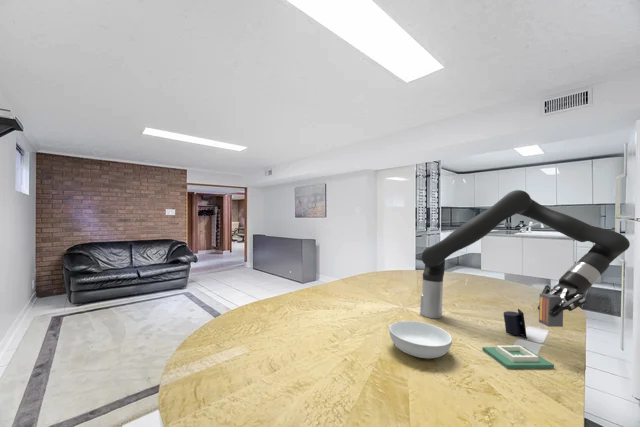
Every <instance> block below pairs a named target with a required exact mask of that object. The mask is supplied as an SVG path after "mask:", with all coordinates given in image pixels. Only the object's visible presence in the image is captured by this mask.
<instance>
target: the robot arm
mask: <svg viewBox="0 0 640 427" xmlns="http://www.w3.org/2000/svg"><path fill="white" fill-rule="evenodd" d="M515 215H520V216H523V217H526V218H530V219H531V220H534V221H537V222H538V223H541V224H543V225H545V226H547V227H549V228H551V229H552V230H554V231H556V232H558V233H561V234H563V235H564V236H566V237H568V238H570V239H572V240H573V241H574V240H575V241H577V242H580V243H585V242H589V243H593V246H592V247H591V248H590V249H589V250H588V252H587V253H585V254H584V255H582V256H581V258H580V259H579V260H578V261H577V262H575V264H573V265H571V267H569V268H568V269H567V271H566V272H565V273H563V275H562V276H560V278H559V279H558V283H557V284H556V285H554V286H549V285H545V286H544V287H543V290H542V292H541V294H555V295H558V296H560V297H561V298H560V301H559V302H558V305H555V306H554V307H553V309H552V310H551V311H550V312H549V313H550V315H551V316H553V317H556V316H558V315H559V314H560V313H561V312H562V311H563V312H564V311H566V310H568V311H570V312H572V311H573V310H575V309H577V308H579V307H581V306H583V305H584V304H585V303H587V300H586V298H585V297H584V296H583V295H585V294H586V293H587V291H589V290H590V289H591V288H592V287H593V285H594V284H595V283H596V282H598V280H599V278H600V277H601V276H602V275H603V274H604V273H605V271H607V269H608V268H609V267H610V264H611V263H613V261H615V260H616V259H617V258H618V257H619V256H620V255H622V254H623V253H625V252H626V251H627V250H628V249H629V248H630V245H631V243H630V240H629V239H628V238H627V237H626V236H625V235H623V234H622V233H620V232H617V231H614V230H611V229H607V228H605V227H599V226H594V225H592V224H589V223H587V222H585V221H582V220H580V219H578V218H576V217H573V216H570V215H568V214H565V213H562V212H559V211H557V210H553V209H550V208H548V207H546V206H544V205H542V204H540V203H539V202H537V201H536V200H534V199H533V198H531V196H530V194H529V193H528V192H526V191H524V190H521V189H516V190H512V191H509V192H508V193H507V194H506V195H505V194H504V196H502V198H501V199H499V200H498V201H497V202H495V203H494V204H493V205H492V206H491V207H489V208H488V209H485V210H483V211H482V212H481V213H479V214H477V215H476V216H474V217H471V219H469V220H467V221H466V222H464V223H463V224H461V225H460V226H459V227H457V228H456V229H454V230H453V231H452V232H451V233H450V234H448V235H447V236H446V237H445V238H443V239H442V240H441V241H439V242H436V243H435V244H433V245H431V246H429V247H427V248H425V249H424V250H423V251H422V253H421V261H422V263H423V264H424V270H423V272H422V286H421V287H422V288H421V294H420V306H419V307H420V309H419V310H420V311H419V315H422V316H423V317H425V318H430V319H441V318H442V316H443V294H444V293H443V290H444V289H443V288H444V275H445V270H446V269H445V267H446V266H445V265H446V259H447V258H449V257H450V256H451V255H453V254H454V253H456V252H458V251H460V250H462V249H465V248H466V247H467V248H468V247H469V246H471V245H473V244H475V243H476V242H478V241H480V240H481V239H483V238H484V237H486V236H487V235H488V234H489V233H491V232H492V231H493V230H494V229H495V228H496V227H497V226H498V225H500V223H502V222H504V221H505V220H507V219H508V218H512V217H513V216H515ZM563 303H564V304H563ZM537 310H539V305H537Z"/></svg>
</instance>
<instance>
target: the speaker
mask: <svg viewBox="0 0 640 427" xmlns="http://www.w3.org/2000/svg"><path fill="white" fill-rule="evenodd" d="M503 320H504V326H505V334H508V335H511V336H520V335H521V336H523V337H524V339H525V340H527V339H528V336H527V330H526V323H525V322H526V321H525V315H524V312H523V311H522V310H521V309H520V308H517V312H516V311H504V312H503Z"/></svg>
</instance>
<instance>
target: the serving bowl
mask: <svg viewBox="0 0 640 427" xmlns="http://www.w3.org/2000/svg"><path fill="white" fill-rule="evenodd" d="M388 330H389V336H390V339H391V341H392V343H393V344H394V345H395V346H396V348H398V349H399V350H400V351H402V352H404V353H406V354H407V355H409V356H413V357H416V358H421V359H437V358H440V357H442V356H444V355H446V354H447V353H448V351H449V350H450V349H451V346H452V345H453V344H452V343H453V337H452V336H451V334H450V333H449V332H448V331H446V330H445V329H442V328H440V327H439V326H436V325H433V324H431V323H427V322H422V321H416V320H400V321H396V322H392V324H390V325H389V328H388Z"/></svg>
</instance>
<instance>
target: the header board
mask: <svg viewBox="0 0 640 427" xmlns="http://www.w3.org/2000/svg"><path fill="white" fill-rule="evenodd" d="M482 352H484V353H485V354H486V355H488V356H489V357H491V358H492V359H493V360H494V361H495V362H497V363H499V364H500V365H501V366H502V367H504V368H505V369H507V370H511V369H513V370H515V369H516V370H517V369H521V370H524V369H525V370H526V369H527V370H528V369H529V370H531V369H538V370H540V369H542V370H543V369H545V370H546V369H547V370H548V369H549V370H550V369H551V370H552V369H555V364H554V363H552V362H550V361H549V360H547V359H545V358H544V357H541V355H538V354H537V353H535V352H533V351H531V350H530V349H529V348H527V347H525V346H521V345H495V346H483V347H482Z"/></svg>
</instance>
